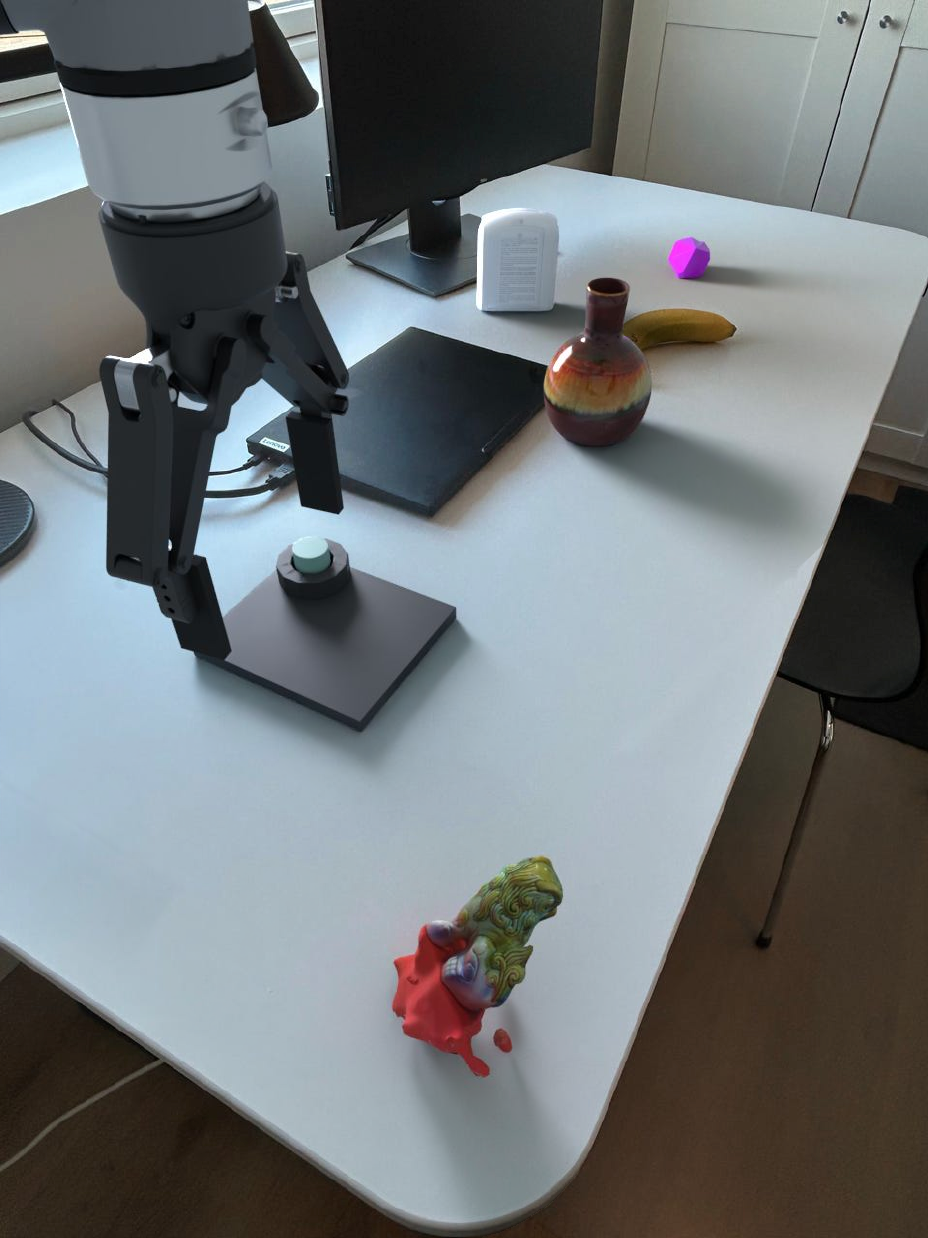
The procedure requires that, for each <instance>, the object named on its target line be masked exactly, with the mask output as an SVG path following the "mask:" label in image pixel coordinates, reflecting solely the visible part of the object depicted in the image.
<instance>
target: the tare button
mask: <svg viewBox="0 0 928 1238" xmlns="http://www.w3.org/2000/svg"><path fill="white" fill-rule="evenodd" d="M293 543H294V545H293V547H292V552H293V558H294V564H295V567H296V569H297V570H298V571H299V572H301V573H304V574H316V573H319V572H322V571H324V570H326V569H327V568H328V567H329V565H330V563H331V560H330V553H329V546H328V543H327V541H326V540H324V539H323V537H320V536H316V535H309V536H304V537H302V538H299V539H298V540H296V541H295V542H293Z"/></svg>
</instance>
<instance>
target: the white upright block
mask: <svg viewBox="0 0 928 1238" xmlns="http://www.w3.org/2000/svg"><path fill="white" fill-rule="evenodd" d="M481 216H482V217H481V222H480V224H479V228H478V232H477V267H476V268H477V269H476V270H477V272H476V306H477V309H479V311H485V312H547V311H551V310H552V309H553V308H554V305H555V304H554V303H555V295H556V293H555V292H556V280H557V268H558V258H559V257H558V256H559V243H560V230H559V229H560V228H559V225H558V218H557V216H556V215H555V214H552V213H551V212H548V211H544V210H540V209H535V208H529V207H527V208H526V207H513V208H511V207H510V208H506V209H504V208H503V209H499V210H495V211H492V212H489V213H486V214H484V215H481Z"/></svg>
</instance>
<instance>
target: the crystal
mask: <svg viewBox="0 0 928 1238" xmlns="http://www.w3.org/2000/svg"><path fill="white" fill-rule="evenodd" d="M667 261H668V263H669V265H670V267H671V268H672V270H673V272H674V274H675V276H676V277H677V278H678V279H691V278H693V279H694V278H700V277H701V276H702V275H703V274H704V272H705V270H706V268H707V266H708V264H709V263H710V261H711V250H710V248H709V247H708V245H707V243H706V241H701V240H699V239H696V238H694V237H693V236H688V237H685V238H680V239H678V240H675V242H674V243H673V245H672V248H671V250H670V253H669V256H668V257H667Z"/></svg>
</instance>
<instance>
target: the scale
mask: <svg viewBox="0 0 928 1238" xmlns="http://www.w3.org/2000/svg"><path fill="white" fill-rule="evenodd" d="M322 538H323V537H322ZM323 539H324V540H326V541H327V543H328V546H329V553H330V560H331V563H330V565H329V567H328V568H327V569H326V570H324V571H322V572H319V573H316V574H304V573H301V572H299V571H298V570H297V569H296V567H295V564H294V558H293V552H292V547H293V545H294V543H295V542H293V543H290V544H288V546H287V547H286V548H284V549H283V550H282V551H281V552H280V553H279V554H278V556H277V560H276V564H275V568H276V569H275V570H274V571H272V572H271V573H270V574H269V575H268V576H267V577H266V578H265V579H263V580H262V581H261V582H259V584H257V586H255V588H254V589H252V590H251V591H250V592H249V593H248V594H247V595H246V596H244V597H243V598H242V599H241V600H239V602H238V603H237V604H236V605H235V606H233V607H232V608H231V609H230V610H229V611H228V612H227V613H225V615H223V616H222V617H223V621H224V624H225V628H226V631H227V635H228V639H229V642H230V646H231V649H232V652H231V653H230V654H229V655H228V657H227V658H226V659H225V660H221V659H218V658H214V657H210V656H207V655H203V654H200V653H196V652H193V655H194V657H196V658H198V659H201V660H203V661H205V662H206V663H209V664H211V665H214V666H216V667H218V668H220V669H222V670H225V671H227V672H228V673H231V674H233V675H235V676H237V677H239V678H241V679H244V680H247V681H248V682H251V683H252V684H255V685H257V686H259V687H261V688H264V689H266V690H268V691H270V692H272V693H275V694H277V695H279V696H280V697H283V698H286V699H287V700H290V701H292V702H293V703H296V704H299V705H300V706H303V707H304V708H307V709H309V710H311V711H313V712H316V713H318V714H320V715H321V716H322V715H323V716H325V717H327V718H329V719H332V720H333V721H335V722H338V723H340V724H342V725H344V726H347V727H348V728H351V729H352V730H355V731H357V732H359V733H363V731H364V730H365V729H366V727H367V726H368V725H369V724H370V723H371V722H372V720H373V719H374V718H375V717H376V716H377V715H378V713H379V712H380V711H381V709H382V708H383V707H384V706H385V704H386V703H387V702H388V701H389V700H390V699H391V697H392V696H393V695H394V694H395V692H396V691H397V690H398V689H399V688H400V687H401V685H403V683H404V682H405V680H406V679H407V678H408V677H409V676H410V675H411V673H412V672H413V671H414V670H415V669H416V667H417V666H418V665H419V664H420V662H422V660H423V659H424V658H425V657H426V655H427V654H428V653H429V651H431V649H432V648H433V647H434V646H435V644H436V643H437V642H438V640H439V639H440V638H441V637H442V636H443V635H444V633H445V632H446V630H448V629H449V628H450V626H451V625H452V624H453V623H454V622H455V620H456V619H457V606H454V605H451V604H449V603H446V602H443V601H441V600H439V599H435V598H433V597H430V596H427V595H425V594H423V593H419V592H417V591H415V590H412V589H410V588H408V587H407V588H406V587H404V586H401V585H399V584H396V583H393V582H390V581H388V580H386V579H383V578H380V577H378V576H375V575H374V574H373V575H372V574H371V573H367V572H365V571H362V570H359V569H357V568H354V567H352V566H351V565H350V557H349V553H348V552H347V551H346V549H345V548H344V547H343V545H342V544H341V543H339V542H337V541H335V540H332V539H328V538H323Z"/></svg>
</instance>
